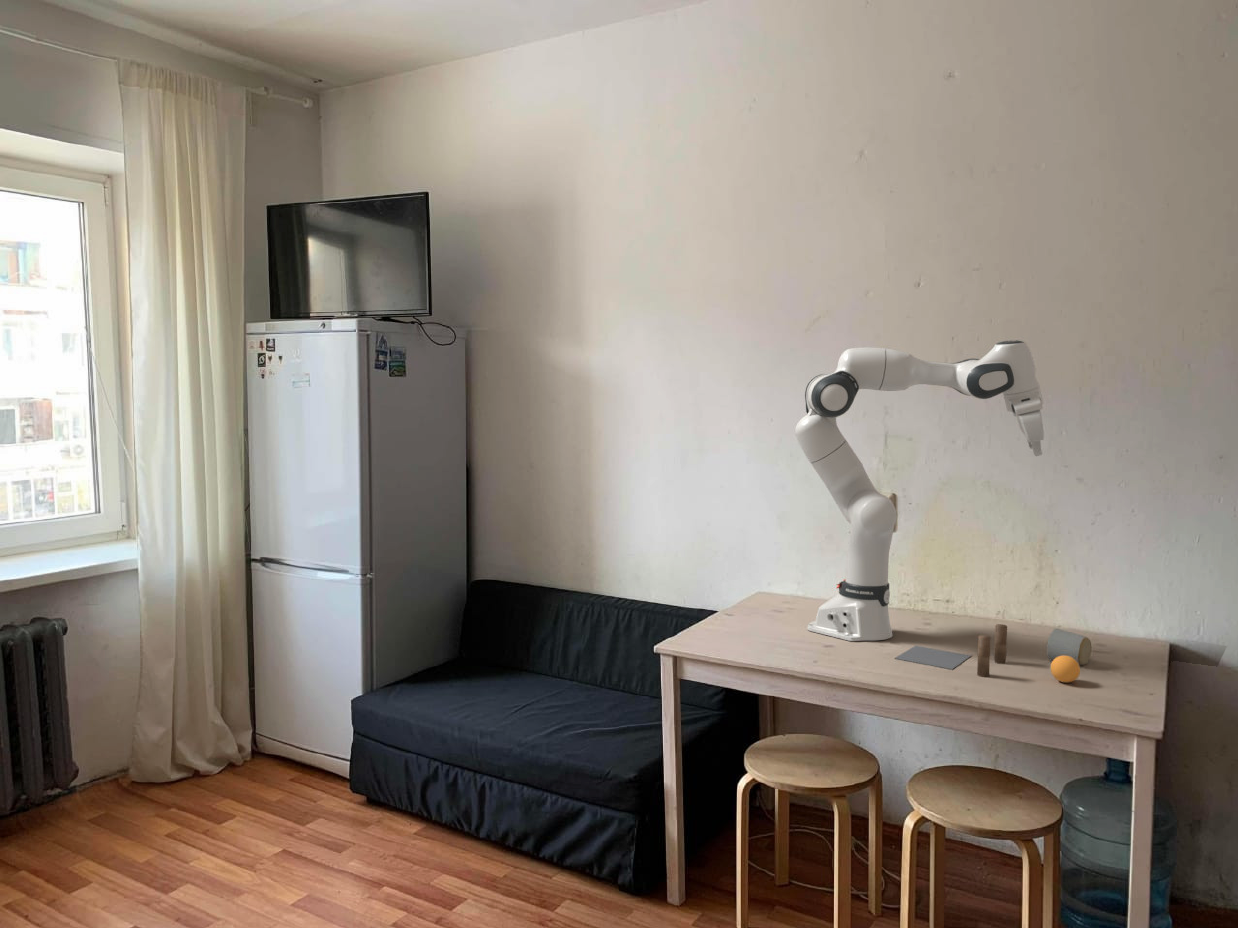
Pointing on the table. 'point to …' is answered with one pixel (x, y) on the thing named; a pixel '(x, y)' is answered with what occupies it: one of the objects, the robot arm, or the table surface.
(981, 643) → the post near
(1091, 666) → the table surface
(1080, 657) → the grey cylinder
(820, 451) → the robot arm
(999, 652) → the post far
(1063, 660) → the ball
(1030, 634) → the table surface
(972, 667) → the table surface
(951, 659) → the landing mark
